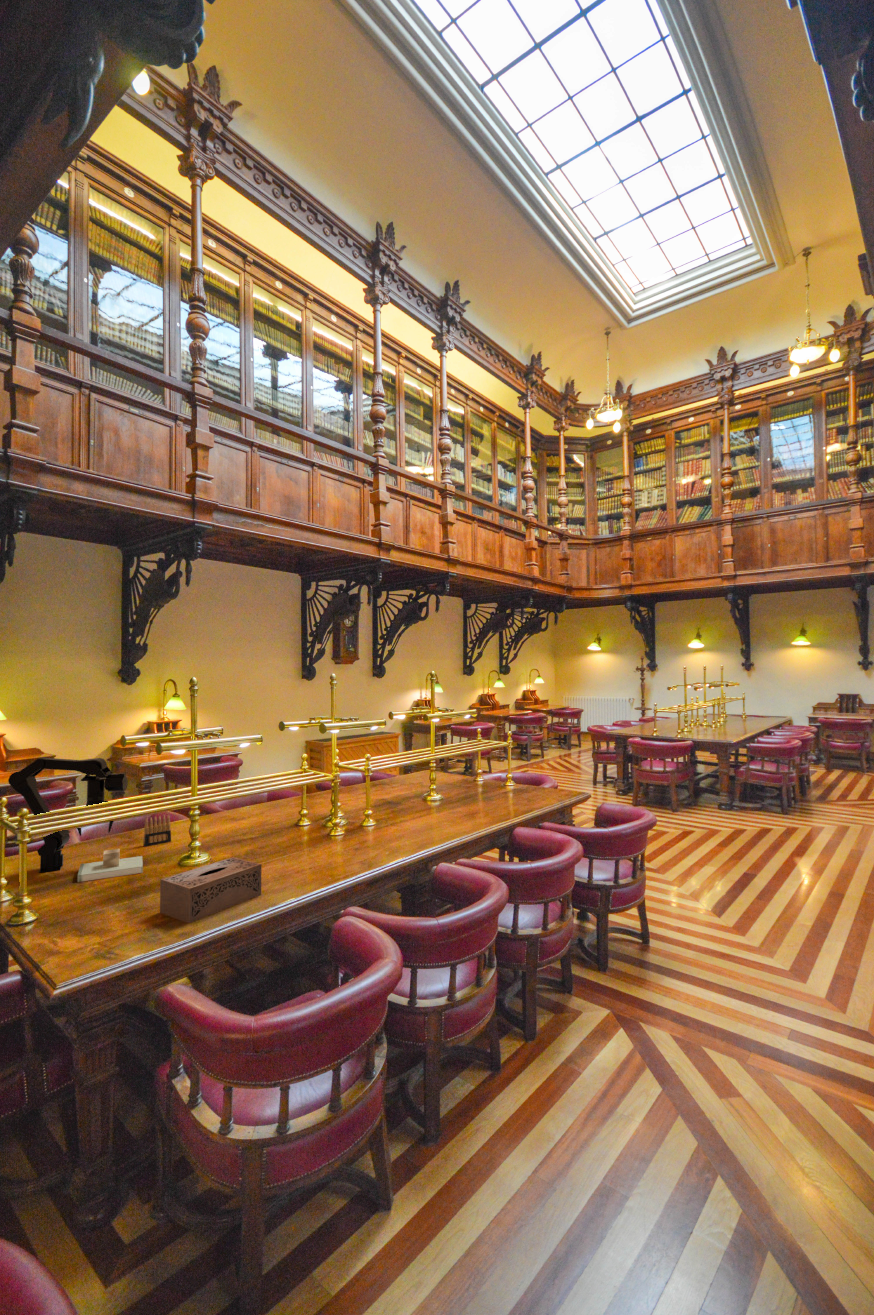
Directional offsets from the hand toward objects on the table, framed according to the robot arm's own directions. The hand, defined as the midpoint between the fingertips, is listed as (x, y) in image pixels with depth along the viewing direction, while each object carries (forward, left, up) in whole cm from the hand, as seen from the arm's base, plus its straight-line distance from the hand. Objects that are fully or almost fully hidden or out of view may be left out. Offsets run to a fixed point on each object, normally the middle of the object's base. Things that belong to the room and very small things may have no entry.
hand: (94, 834), depth 213 cm
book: (+6, -10, -12) cm, 17 cm away
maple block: (+6, -10, -10) cm, 15 cm away
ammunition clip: (+22, +22, -12) cm, 33 cm away
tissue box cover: (+35, -60, -12) cm, 70 cm away
